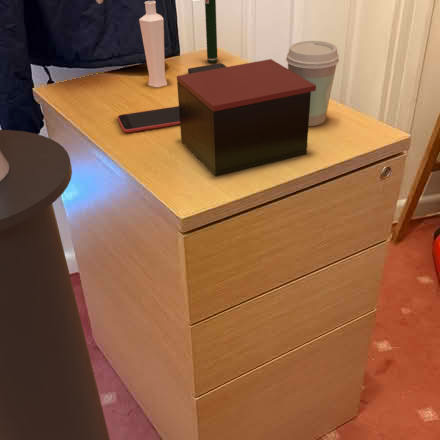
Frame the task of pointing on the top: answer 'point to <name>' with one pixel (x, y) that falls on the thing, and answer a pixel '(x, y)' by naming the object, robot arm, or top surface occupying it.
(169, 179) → the top surface
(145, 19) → the white pentagonal vase
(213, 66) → the phone
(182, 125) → the box
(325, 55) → the coffee cup
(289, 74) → the box lid
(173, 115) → the smartphone
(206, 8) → the flashlight
